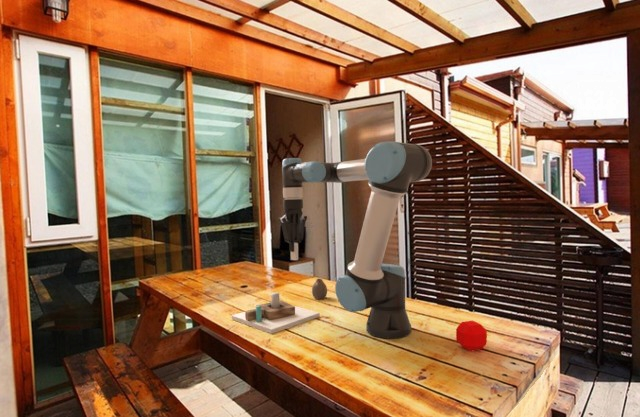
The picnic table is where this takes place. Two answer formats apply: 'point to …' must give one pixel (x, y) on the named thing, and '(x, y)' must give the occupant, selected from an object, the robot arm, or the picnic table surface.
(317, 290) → the avocado
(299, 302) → the picnic table surface
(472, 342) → the ball
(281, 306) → the collar
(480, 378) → the picnic table surface
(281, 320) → the base
